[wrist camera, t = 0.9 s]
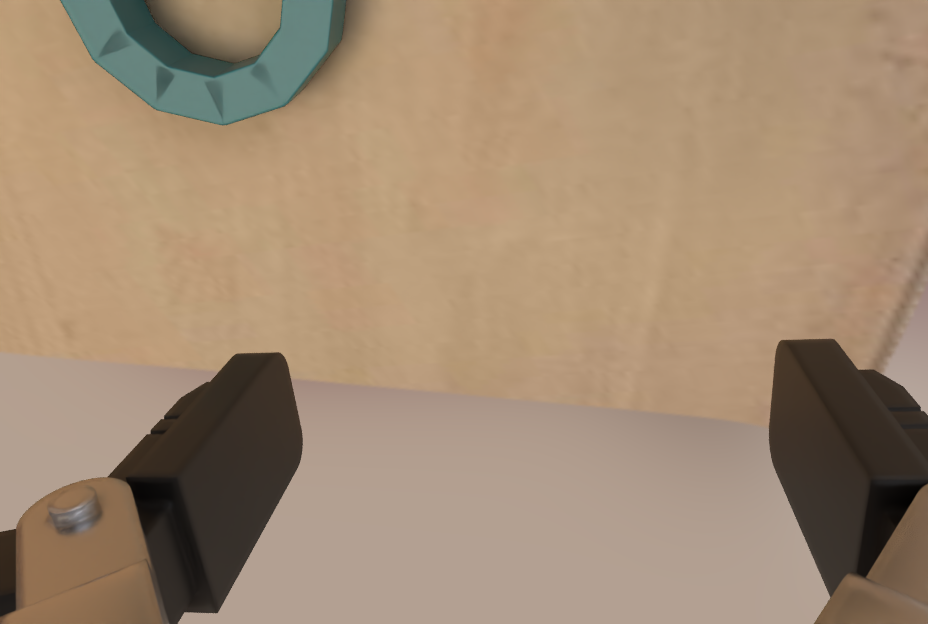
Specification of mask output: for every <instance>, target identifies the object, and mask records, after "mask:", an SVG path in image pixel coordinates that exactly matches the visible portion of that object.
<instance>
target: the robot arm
mask: <svg viewBox="0 0 928 624" xmlns="http://www.w3.org/2000/svg"><path fill="white" fill-rule="evenodd" d="M920 408H921V407H920V406H919V405H918V404H917V402H916V401H915V400H914V399H913V398H912V396H911V395H910V394H909V393H908V392H907V391H906V389H905V388H904V387H903V386H901V385H899V384H898V383H896V382H894V381H892V380H891V379H889V378H887V377H886V376H884V375H882V374H880V373H879V372H877V371H875V370H858V369H857V368H856V367H855V365H854V364H853V363H852V361H851V360H850V359H849V357H848V356H847V355H846V353H845V352H844V351H843V349H842V348H841V347H840V346H839V344H838V343H837V342H836V341H835V340H834V339H805V340H781V341H780V342H779V344H778V346H777V349H776V355H775V366H774V377H773V389H772V400H771V412H770V423H769V444H770V452H771V458H772V462H773V465H774V468H775V470H776V473H777V475H778V478H779V480H780V482H781V484H782V486H783V489H784V491H785V494H786V496H787V498H788V501H789V503H790V505H791V507H792V509H793V512H794V514H795V517H796V519H797V521H798V523H799V526H800V528H801V530H802V533H803V535H804V537H805V540H806V542H807V544H808V547H809V549H810V551H811V554H812V556H813V558H814V560H815V563H816V565H817V567H818V570H819V572H820V574H821V577H822V579H823V581H824V583H825V586H826V588H827V590H828V592H829V595H830V597H831V598H830V600H829V601H828V603H827V604H826V606H825V607H824V609H823V610H822V612H821V614H820V615H819V617H818V618H817V620H816V621H815V623H814V624H928V415H927V414H926V413H925V412H924V411H921V409H920ZM302 442H303V438H302V430H301V425H300V420H299V415H298V411H297V406H296V401H295V396H294V392H293V388H292V382H291V378H290V373H289V368H288V364H287V362H286V359H285V357H284V356H283V355H282V354H281V353H279V352H278V353H240V354H235V355H234V356H233V357H232V358H231V359H230V360H229V361H228V362H227V364H226V365H225V366H224V367H223V368H222V369H221V370H220V371H219V373H218V374H217V375H216V376H215V377H214V378H213V379H212V380H211V382H206V383H204V384H203V385H201V386H199V387H198V388H196V389H195V390H193V391H191V392H190V393H188V394H186V395H185V396H183V397H181V398H180V399H179V400H178V401H177V403H176V404H175V405H174V406H173V407H172V408H171V409H170V410H169V411H168V412H167V413H166V415H165V416H164V419H161V420H160V421H159V422H158V423H157V424H156V425H155V426H154V427H153V428H152V429H151V434H147V435H146V436H145V437H144V438H143V439H142V440H141V441H140V442H139V444H138V445H137V446H136V447H135V448H134V449H133V450H132V451H131V452H130V453H129V454H128V455H127V456H126V458H125V459H124V460H123V461H122V462H121V463H120V464H119V465H118V466H117V467H116V468H115V469H114V471H113V472H112V473H111V474H110V475H109V476H108V477H103V478H92V479H88V480H82V481H79V482H76V483H72V484H70V485H67V486H64V487H62V488H60V489H58V490H55V491H53V492H52V493H50V494H48V495H46V496H45V497H43V498H42V499H40V500H39V501H37V502H36V503H35V504H34V505H32V506H31V507H30V508H29V509H28V510H27V511H26V512H25V513H24V514H23V516H22V517H21V518H20V520H19V522H18V524H17V527H16V529H14V530H8V531H3V532H0V624H178V622H179V620H180V619H181V617H182V615H183V614H184V612H197V613H198V612H199V613H218V611H219V610H220V608H221V606H222V604H223V602H224V600H225V599H226V597H227V595H228V593H229V591H230V590H231V588H232V586H233V584H234V582H235V580H236V579H237V577H238V575H239V573H240V572H241V570H242V568H243V566H244V564H245V562H246V561H247V559H248V557H249V555H250V553H251V552H252V550H253V548H254V546H255V544H256V543H257V541H258V539H259V537H260V535H261V533H262V532H263V530H264V528H265V526H266V524H267V522H268V521H269V519H270V517H271V515H272V514H273V512H274V510H275V508H276V506H277V504H278V503H279V501H280V499H281V497H282V495H283V493H284V492H285V490H286V488H287V486H288V485H289V483H290V481H291V479H292V477H293V475H294V474H295V472H296V470H297V468H298V466H299V463H300V460H301V455H302V445H303V443H302Z"/></svg>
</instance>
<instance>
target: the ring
mask: <svg viewBox="0 0 928 624" xmlns="http://www.w3.org/2000/svg"><path fill="white" fill-rule="evenodd" d="M60 1H61V3H62V4H63V6H64V8H65V10H66V12H67V13H68V15H69V17H70V19H71V21H72V23H73V24H74V26H75V28H76V30H77V32H78V34H79V35H80V37H81V39H82V41H83V43H84V45H85V46H86V48H87V50H88V52H89V54H90V55H91V57H92V59H93V60H94V61H95V62H96V63H97V64H98V65H100V66H101V67H102V68H103V69H105V70H106V71H107V72H108V73H110V74H111V75H112V76H113V77H115V78H116V79H117V80H118V81H120V82H121V83H122V84H124V85H125V86H126V87H127V88H129V89H130V90H131V91H132V92H134V93H135V94H136V95H137V96H139V97H140V98H141V99H142V100H144V101H145V102H146V103H147V104H149V105H150V106H151V107H152V108H154V109H156V110H158V111H163V112H167V113H171V114H176V115H180V116H184V117H189V118H193V119H197V120H202V121H206V122H210V123H214V124H219V125H228V124H231V123H234V122H238V121H241V120H244V119H247V118H250V117H253V116H256V115H259V114H262V113H265V112H268V111H272V110H275V109H278V108H281V107H284V106H285V105H287V104H288V103H289V102H290V101H292V100H293V99H294V98H295V97H296V96H297V95H298V94H299V93H300V92H301V91H302V90H303V89H304V88H305V87H306V85H307V84H308V83H309V81H310V80H311V79H312V78H313V76H314V75H315V74H316V72H317V71H318V70H319V69H320V67H321V66H322V65H323V63H324V62H325V61H326V60H327V58H328V57H329V56H330V54H331V53H332V52H333V51H334V49H335V48H336V47H337V45H338V44H339V43H340V41H341V39H342V33H343V24H344V16H345V8H346V0H282V11H281V24H280V28H279V29H278V31H277V32H276V34H275V35H274V36H273V38H272V39H271V40H270V42H269V43H268V45H267V46H266V47H265V49H264V50H263V51H262V53H261V54H260V55H258V56H255V57H252V58H249V59H246V60H243V61H240V62H237V63H230V62H226V61H221V60H217V59H213V58H209V57H204V56H200V55H196V54H192V53H190V52H189V51H188V50H187V49H186V48H185V47H183V46H182V45H181V44H180V43H179V42H177V41H176V40H175V39H174V38H173V37H171V36H170V35H169V34H168V33H167V32H165V31H164V30H163V29H162V28H161V27H159V26H158V25H157V24H156V23H155V22H154V20H153V18H152V16H151V14H150V12H149V10H148V7H147V5H146V3H145V1H144V0H60Z"/></svg>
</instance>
